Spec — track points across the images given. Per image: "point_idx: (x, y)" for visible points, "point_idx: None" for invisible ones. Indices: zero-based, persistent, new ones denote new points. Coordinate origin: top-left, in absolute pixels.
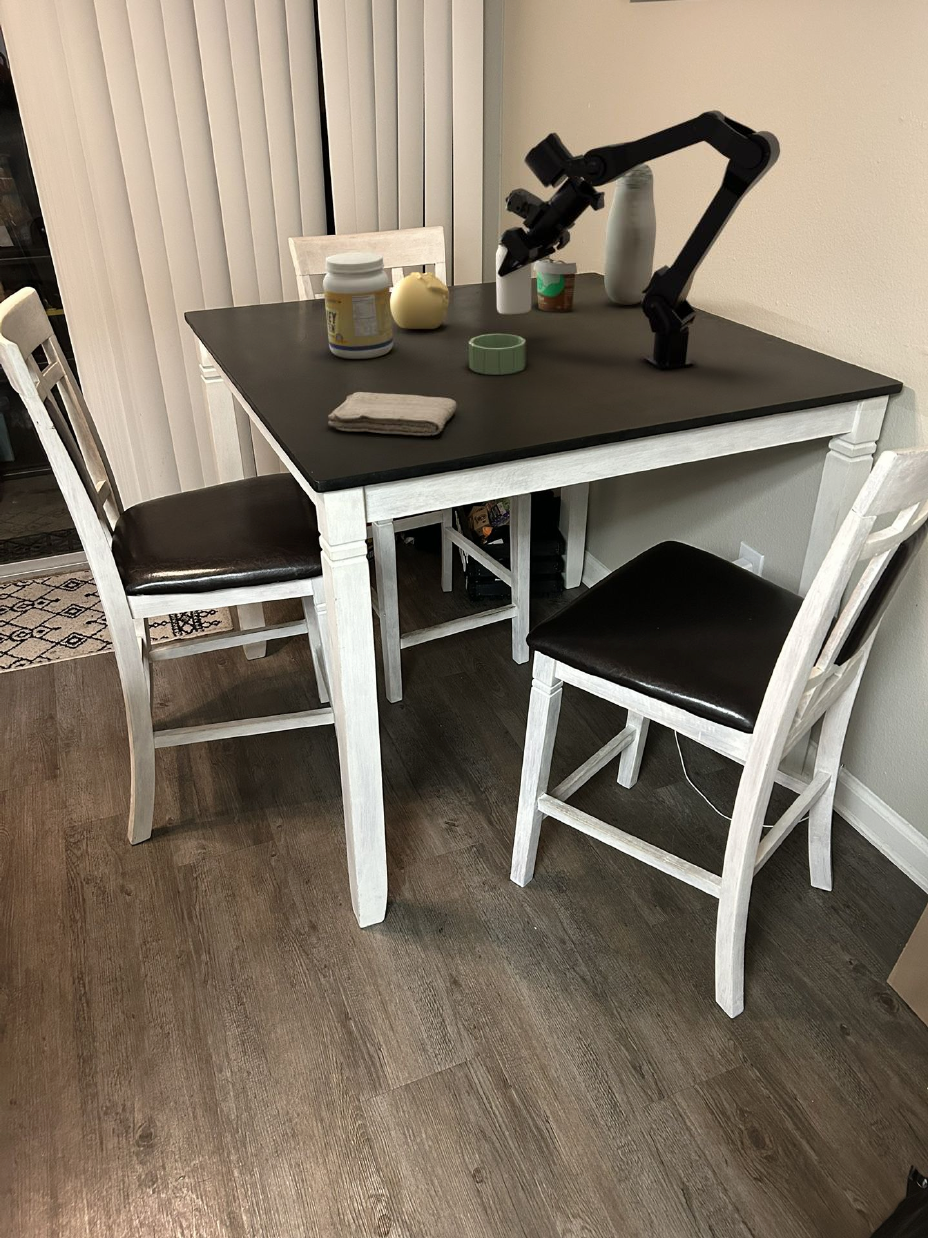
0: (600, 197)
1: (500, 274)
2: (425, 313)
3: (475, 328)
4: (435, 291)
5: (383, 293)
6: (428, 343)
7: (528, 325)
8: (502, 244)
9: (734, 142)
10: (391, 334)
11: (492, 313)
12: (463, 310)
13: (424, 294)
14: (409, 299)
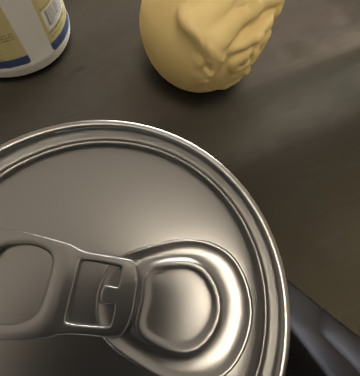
0: None
1: None
2: (155, 59)
3: (231, 155)
4: (183, 32)
5: None
6: (97, 116)
7: (306, 251)
8: (150, 145)
9: None
10: (1, 55)
11: (346, 143)
12: (334, 89)
13: (163, 20)
14: (143, 6)
